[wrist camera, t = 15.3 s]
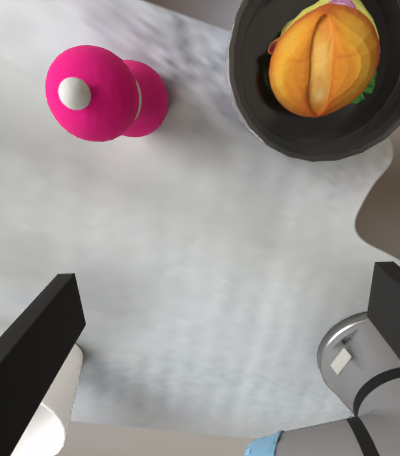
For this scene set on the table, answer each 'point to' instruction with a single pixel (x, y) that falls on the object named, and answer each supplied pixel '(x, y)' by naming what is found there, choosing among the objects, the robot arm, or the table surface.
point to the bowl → (299, 125)
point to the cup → (53, 412)
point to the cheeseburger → (325, 58)
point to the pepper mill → (104, 94)
